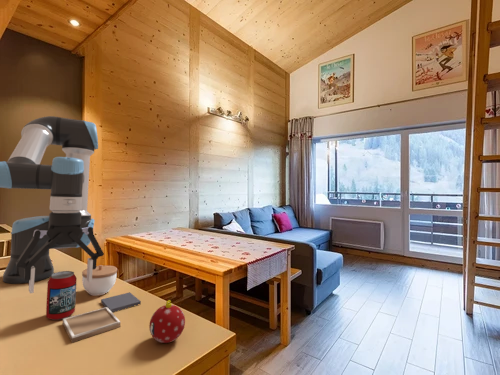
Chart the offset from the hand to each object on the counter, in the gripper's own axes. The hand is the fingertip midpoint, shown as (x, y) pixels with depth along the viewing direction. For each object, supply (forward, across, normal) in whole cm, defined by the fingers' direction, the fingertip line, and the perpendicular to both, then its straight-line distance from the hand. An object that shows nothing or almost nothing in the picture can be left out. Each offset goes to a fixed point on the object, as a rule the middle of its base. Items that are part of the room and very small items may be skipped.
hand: (62, 285), depth 74 cm
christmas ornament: (+9, +17, -29) cm, 35 cm away
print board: (+9, +5, -10) cm, 15 cm away
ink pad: (+9, +16, -2) cm, 18 cm away
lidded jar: (+9, +13, +12) cm, 20 cm away
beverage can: (+9, 0, +1) cm, 9 cm away
